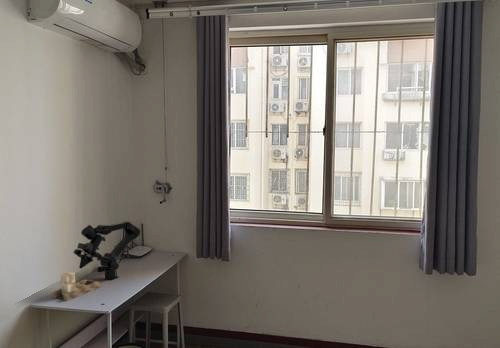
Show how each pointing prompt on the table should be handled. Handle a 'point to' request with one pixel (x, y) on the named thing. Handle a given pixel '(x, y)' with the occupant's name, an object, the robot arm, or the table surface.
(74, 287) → the maple block
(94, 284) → the trap deck
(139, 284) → the table surface
